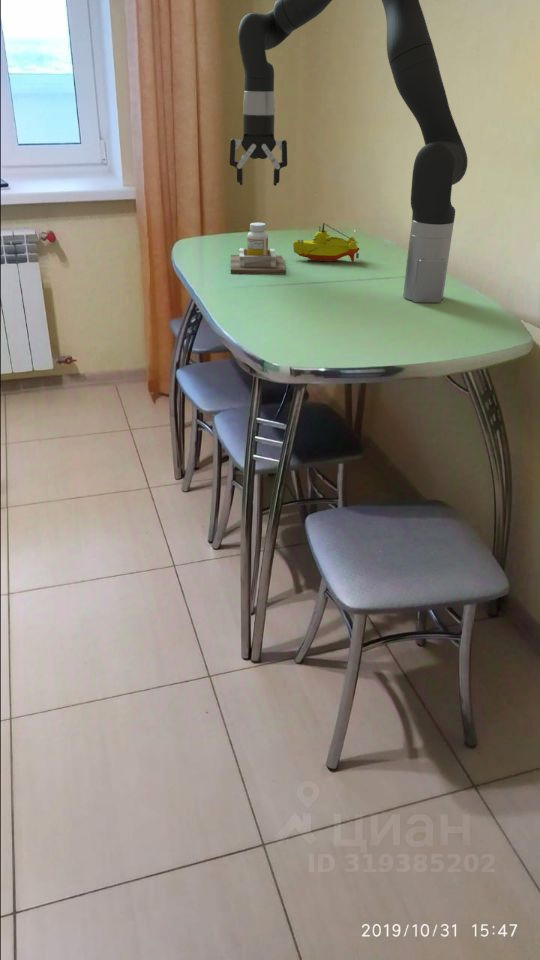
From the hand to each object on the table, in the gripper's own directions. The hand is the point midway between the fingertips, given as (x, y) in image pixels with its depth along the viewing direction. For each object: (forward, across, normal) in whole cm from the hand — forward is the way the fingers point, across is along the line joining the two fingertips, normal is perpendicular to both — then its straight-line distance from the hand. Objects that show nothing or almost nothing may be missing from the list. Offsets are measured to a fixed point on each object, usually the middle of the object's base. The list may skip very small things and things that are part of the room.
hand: (258, 184), depth 181 cm
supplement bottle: (+19, 0, 0) cm, 19 cm away
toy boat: (+20, +19, +7) cm, 29 cm away
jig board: (+20, 0, 0) cm, 20 cm away
